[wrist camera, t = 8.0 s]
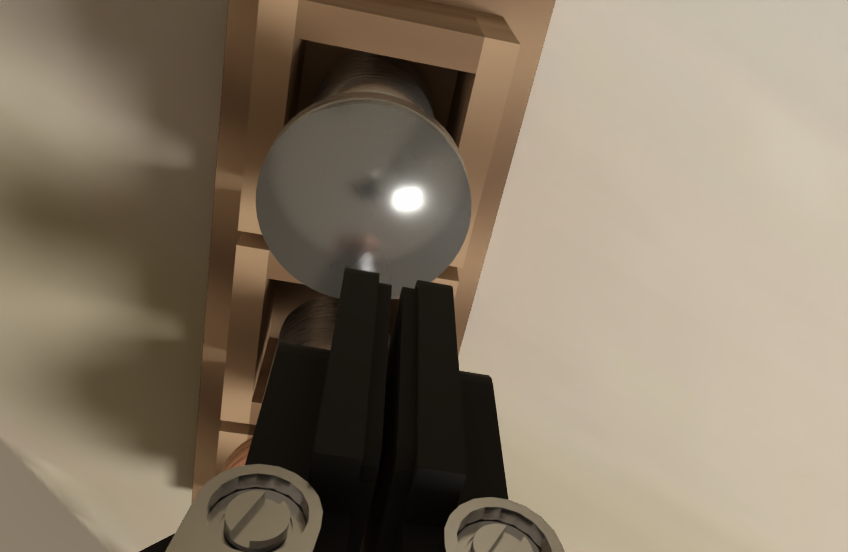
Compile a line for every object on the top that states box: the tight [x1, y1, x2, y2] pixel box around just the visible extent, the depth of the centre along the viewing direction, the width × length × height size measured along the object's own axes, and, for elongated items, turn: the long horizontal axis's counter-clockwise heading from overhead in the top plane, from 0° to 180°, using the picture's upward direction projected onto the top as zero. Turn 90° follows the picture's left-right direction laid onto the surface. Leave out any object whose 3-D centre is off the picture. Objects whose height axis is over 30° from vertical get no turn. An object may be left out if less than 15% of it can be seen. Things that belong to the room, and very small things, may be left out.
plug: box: [256, 51, 472, 299], centre depth 21 cm, size 5×5×8 cm
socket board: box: [192, 0, 556, 502], centre depth 27 cm, size 25×10×5 cm, turn 169°
